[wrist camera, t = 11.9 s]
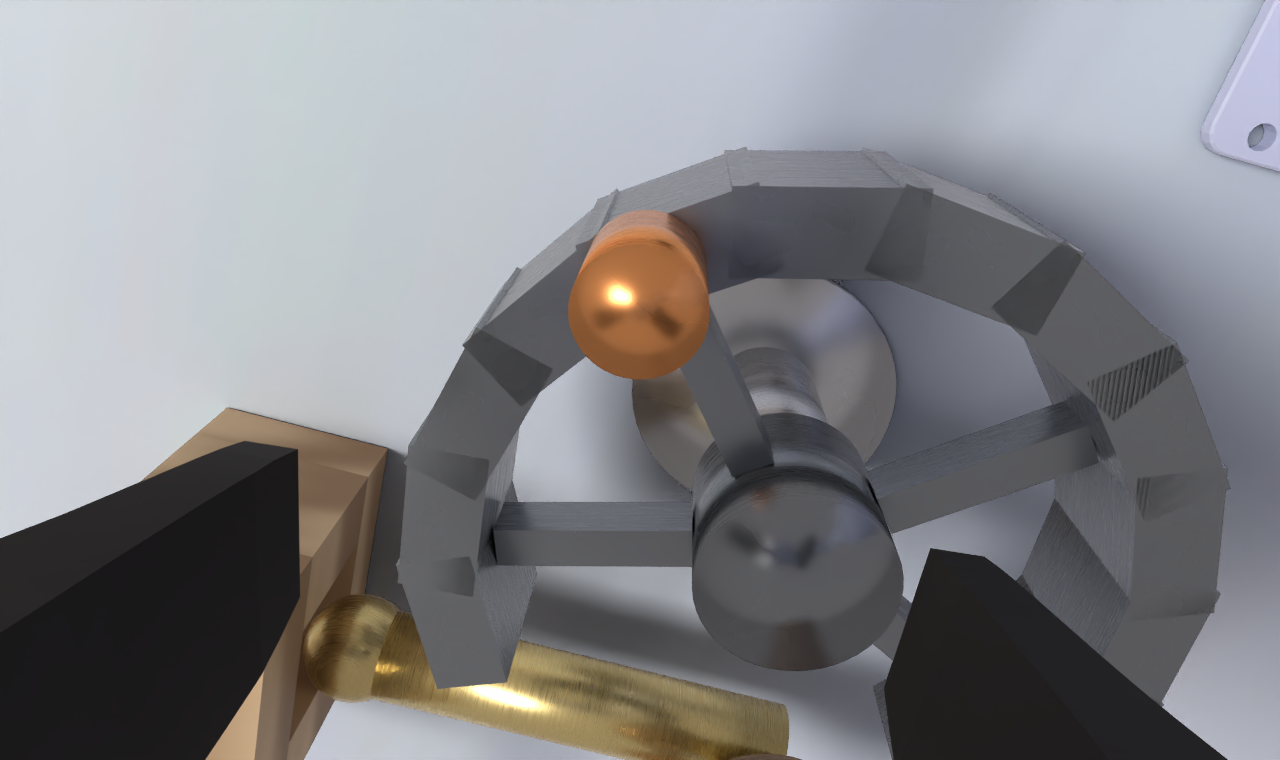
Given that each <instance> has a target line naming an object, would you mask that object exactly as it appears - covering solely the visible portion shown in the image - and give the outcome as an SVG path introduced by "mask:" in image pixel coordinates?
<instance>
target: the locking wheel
mask: <svg viewBox="0 0 1280 760" xmlns="http://www.w3.org/2000/svg"><path fill="white" fill-rule="evenodd" d="M1085 254H1086V253H1084V252H1083V251H1081V250H1080V249H1078V248H1076V247H1075V246H1073V245H1072V244H1070V243H1068V242H1067V241H1065V240H1064V239H1063V238H1061V237H1060V236H1058V235H1056V234H1055V233H1053V232H1052V231H1050V230H1048V229H1047V228H1045V227H1044V226H1042V225H1040V224H1039V223H1037V222H1036V221H1034V220H1032V219H1031V218H1029V217H1028V216H1026V215H1024V214H1023V213H1021V212H1020V211H1018V210H1016V209H1015V208H1013V207H1012V206H1010V205H1008V204H1007V203H1005V202H1004V201H1002V200H1000V199H999V198H997V197H996V196H994V195H992V194H991V193H990V194H989V195H988V196H985V195H983V194H980V193H977V192H975V191H972V190H970V189H967V188H965V187H962V186H960V185H957V184H955V183H952V182H949V181H947V180H944V179H942V178H939V177H937V176H934V175H932V174H929V173H927V172H924V171H921V170H919V169H916V168H914V167H911V166H909V165H906V164H904V163H901V162H899V161H897V160H895V159H894V158H893V157H891V156H890V155H889V154H887V153H886V152H873V151H871V150H868V149H865V148H863V150H862V152H858V151H758V150H747V148H746V147H744V148H741V149H738V150H725V153H724V155H721V156H718V157H715V158H713V159H710V160H707V161H704V162H701V163H698V164H696V165H693V166H690V167H687V168H684V169H682V170H679V171H676V172H673V173H670V174H668V175H665V176H662V177H659V178H656V179H653V180H651V181H648V182H645V183H642V184H639V185H637V186H634V187H631V188H628V189H625V190H622V191H620V192H619V191H618V190H617V189H616V190H615V191H613V192H612V193H611V194H610V195H608V196H606V197H603V198H600V199H598V200H597V202H596V204H595V206H594V208H593V209H592V210H591V211H590V212H589V213H587V214H586V215H585V216H584V217H583V218H581V219H580V220H579V221H578V222H577V223H575V224H574V225H573V226H572V227H571V228H569V229H568V230H567V231H566V232H565V233H564V234H562V235H561V236H560V237H559V238H558V239H556V240H555V241H554V242H553V243H552V244H550V245H549V246H548V247H547V248H546V249H544V250H543V251H542V252H541V253H540V254H539V255H537V256H536V257H535V258H534V259H533V260H531V261H530V262H529V263H528V264H527V265H525V266H524V267H523V268H522V269H519V268H518V267H517V268H516V270H515V271H514V272H513V274H512V275H511V277H510V278H509V280H508V281H506V282H505V284H504V285H503V287H502V288H501V289H500V291H499V292H498V294H497V295H496V297H495V298H494V300H493V301H492V303H491V304H490V305H489V307H488V308H487V310H486V311H485V313H484V314H483V316H482V317H481V319H480V320H479V321H478V323H477V324H476V326H475V327H474V329H473V330H472V332H471V333H470V335H469V336H468V337H467V339H466V340H465V342H464V343H463V347H464V348H465V349H464V351H463V353H462V355H461V356H460V358H459V360H458V362H457V364H456V366H455V368H454V370H453V371H452V373H451V375H450V377H449V379H448V381H447V383H446V385H445V386H444V388H443V390H442V392H441V394H440V396H439V398H438V399H437V401H436V403H435V405H434V407H433V408H432V410H431V411H430V413H429V415H428V416H427V418H426V419H425V421H424V422H423V424H422V425H421V427H420V428H419V430H418V431H417V433H416V434H415V436H414V437H413V439H412V441H411V442H410V444H409V446H408V456H407V457H406V459H405V461H404V463H403V464H405V465H407V471H406V484H405V497H404V509H403V522H402V534H401V547H400V558H399V560H398V562H397V564H396V567H397V570H398V583H399V584H402V585H403V588H404V591H405V594H406V597H407V600H408V603H409V606H410V609H411V612H412V615H413V618H414V621H415V624H416V627H417V630H418V633H419V636H420V639H421V642H422V645H423V648H424V651H425V654H426V657H427V660H428V663H429V666H430V669H431V672H432V675H433V678H434V681H435V683H436V686H437V689H444V688H455V687H465V686H475V685H485V684H496V683H506V682H507V680H508V676H509V673H510V669H511V666H512V662H513V658H514V655H515V651H516V648H517V644H518V640H519V637H520V633H521V630H522V626H523V622H524V619H525V615H526V612H527V608H528V604H529V601H530V597H531V594H532V590H533V586H534V583H535V579H536V576H537V572H536V568H535V566H656V567H692V592H693V600H694V604H695V608H696V611H697V613H698V616H699V618H700V620H701V622H702V624H703V625H704V627H705V628H706V630H707V631H708V632H709V634H710V635H711V636H712V637H713V638H714V639H715V640H716V641H717V642H718V643H719V644H720V645H721V646H722V647H723V648H725V649H726V650H728V651H729V652H731V653H732V654H734V655H735V656H737V657H739V658H741V659H743V660H745V661H748V662H750V663H753V664H755V665H759V666H762V667H766V668H771V669H777V670H786V671H805V670H813V669H820V668H824V667H828V666H832V665H835V664H838V663H840V662H843V661H846V660H848V659H850V658H852V657H854V656H856V655H858V654H859V653H861V652H862V651H864V650H865V649H867V648H868V647H869V646H870V645H872V644H874V645H875V646H876V647H877V648H879V649H880V650H881V651H882V652H883V653H885V654H886V655H887V656H888V657H889V658H891V659H892V660H893V659H894V656H895V653H896V650H897V647H898V644H899V641H900V638H901V635H902V632H903V629H904V626H905V623H906V620H907V617H908V614H909V611H910V608H911V605H912V603H910V602H909V601H908V600H907V599H906V598H905V597H903V596H902V594H903V581H904V577H903V570H902V565H901V562H900V559H899V555H898V553H897V550H896V547H895V545H894V542H893V539H892V537H891V534H892V533H895V532H898V531H901V530H904V529H907V528H910V527H913V526H916V525H919V524H922V523H925V522H928V521H931V520H934V519H936V518H939V517H942V516H945V515H948V514H951V513H954V512H957V511H960V510H963V509H966V508H969V507H972V506H975V505H978V504H981V503H983V502H986V501H989V500H992V499H995V498H998V497H1001V496H1004V495H1007V494H1010V493H1013V492H1016V491H1019V490H1022V489H1025V488H1028V487H1030V486H1033V485H1036V484H1039V483H1042V482H1045V481H1048V480H1051V479H1054V478H1055V499H1054V501H1053V504H1052V506H1051V508H1050V511H1049V513H1048V515H1047V518H1046V520H1045V522H1044V525H1043V527H1042V529H1041V532H1040V534H1039V536H1038V539H1037V541H1036V543H1035V546H1034V548H1033V550H1032V553H1031V555H1030V557H1029V560H1028V562H1027V564H1026V567H1025V569H1024V571H1023V574H1022V575H1021V576H1020V577H1019V578H1018V579H1017V580H1016V582H1017V583H1019V584H1020V585H1021V586H1022V587H1023V588H1024V589H1026V590H1027V591H1028V592H1029V593H1030V594H1031V595H1032V596H1034V597H1035V598H1036V599H1037V600H1038V601H1039V602H1041V603H1042V604H1043V605H1044V606H1045V607H1046V608H1047V609H1049V610H1050V611H1051V612H1052V613H1053V614H1054V615H1055V616H1056V617H1058V618H1059V619H1060V620H1061V621H1062V622H1063V623H1064V624H1066V625H1067V626H1068V627H1069V628H1070V629H1071V630H1072V631H1074V632H1075V633H1076V634H1077V635H1078V636H1079V637H1080V638H1081V639H1083V640H1084V641H1085V642H1086V643H1087V644H1088V645H1089V646H1091V647H1092V648H1093V649H1094V650H1095V651H1096V652H1097V653H1099V654H1100V655H1101V656H1102V657H1103V658H1104V659H1106V660H1107V661H1108V662H1109V663H1110V664H1111V665H1113V666H1114V667H1115V668H1116V669H1117V670H1118V671H1119V672H1121V673H1122V674H1123V675H1124V676H1125V677H1126V678H1128V679H1129V680H1130V681H1131V682H1132V683H1134V684H1135V685H1136V686H1137V687H1138V688H1139V689H1141V690H1142V691H1143V692H1144V693H1145V694H1147V695H1148V696H1149V697H1150V698H1151V699H1153V700H1154V701H1155V702H1156V703H1157V704H1159V705H1160V706H1161V707H1162V706H1163V705H1164V704H1163V703H1162V700H1163V698H1164V697H1165V695H1166V693H1167V691H1168V689H1169V687H1170V686H1171V684H1172V682H1173V680H1174V678H1175V676H1176V675H1177V673H1178V671H1179V669H1180V667H1181V665H1182V664H1183V662H1184V660H1185V658H1186V656H1187V654H1188V653H1189V651H1190V649H1191V647H1192V645H1193V643H1194V642H1195V640H1196V638H1197V636H1198V634H1199V633H1200V631H1201V629H1202V627H1203V625H1204V623H1205V622H1206V620H1207V618H1208V616H1209V614H1210V613H1214V607H1215V603H1216V601H1217V600H1218V598H1219V596H1220V593H1219V592H1218V591H1217V589H1216V586H1217V576H1218V565H1219V555H1220V545H1221V534H1222V524H1223V513H1224V503H1225V493H1226V490H1228V489H1231V488H1230V485H1229V483H1228V480H1227V472H1228V467H1226V466H1225V465H1224V464H1223V463H1222V462H1221V461H1220V458H1219V455H1218V453H1217V450H1216V447H1215V445H1214V442H1213V439H1212V437H1211V434H1210V431H1209V428H1208V426H1207V423H1206V420H1205V418H1204V415H1203V412H1202V409H1201V407H1200V404H1199V401H1198V399H1197V396H1196V393H1195V391H1194V388H1193V385H1192V382H1191V380H1190V377H1189V374H1188V372H1187V369H1186V366H1185V364H1186V363H1187V362H1188V360H1187V359H1186V358H1185V357H1184V356H1183V355H1182V354H1181V353H1180V350H1179V347H1178V345H1177V342H1175V341H1174V340H1172V339H1171V338H1170V337H1168V336H1167V335H1165V334H1164V333H1162V332H1161V331H1159V330H1158V329H1157V328H1155V327H1154V326H1153V325H1152V324H1150V323H1149V322H1148V321H1147V320H1146V319H1145V318H1144V317H1143V316H1142V315H1141V314H1140V313H1139V312H1138V311H1137V310H1136V309H1135V308H1134V307H1133V306H1132V305H1131V304H1130V303H1129V302H1128V301H1127V300H1126V299H1125V298H1124V297H1123V296H1122V295H1121V294H1120V293H1119V292H1118V291H1117V290H1116V289H1115V288H1114V287H1113V286H1112V285H1110V284H1109V283H1108V282H1107V281H1106V280H1105V279H1104V278H1103V277H1102V276H1101V275H1100V274H1099V273H1098V272H1097V271H1096V270H1095V269H1094V268H1093V267H1092V266H1091V265H1090V264H1089V263H1088V262H1087V261H1086V260H1085V259H1084V258H1083V257H1084V256H1085ZM757 278H771V279H828V280H884V281H893V282H896V283H898V284H901V285H904V286H906V287H909V288H911V289H914V290H917V291H919V292H922V293H925V294H927V295H930V296H933V297H935V298H938V299H940V300H943V301H946V302H948V303H951V304H954V305H956V306H959V307H962V308H964V309H967V310H969V311H972V312H975V313H977V314H980V315H983V316H985V317H988V318H991V319H993V320H996V321H998V322H1001V323H1004V324H1006V325H1009V326H1011V327H1012V328H1013V329H1014V330H1015V331H1016V332H1018V333H1019V334H1020V335H1021V336H1022V337H1023V338H1024V340H1025V342H1026V345H1027V347H1028V349H1029V352H1030V354H1031V356H1032V358H1033V361H1034V363H1035V365H1036V368H1037V370H1038V372H1039V374H1040V377H1041V379H1042V381H1043V384H1044V386H1045V388H1046V391H1047V393H1048V395H1049V397H1050V400H1051V402H1052V404H1053V405H1051V406H1048V407H1045V408H1043V409H1040V410H1037V411H1034V412H1032V413H1029V414H1026V415H1023V416H1020V417H1018V418H1015V419H1012V420H1009V421H1006V422H1004V423H1001V424H998V425H995V426H992V427H990V428H987V429H984V430H981V431H979V432H976V433H973V434H970V435H967V436H965V437H962V438H959V439H956V440H953V441H951V442H948V443H945V444H942V445H939V446H937V447H934V448H931V449H928V450H926V451H923V452H920V453H917V454H914V455H912V456H909V457H906V458H903V459H900V460H898V461H895V462H892V463H889V464H886V465H884V466H881V467H878V468H875V469H872V470H870V471H867V470H866V467H865V464H864V461H863V459H862V458H861V456H860V454H859V452H858V450H857V449H856V448H855V446H854V445H853V443H852V442H851V441H850V440H849V439H848V438H847V437H846V436H845V435H844V434H842V433H841V432H840V431H839V430H837V429H836V428H834V427H833V426H831V425H829V424H828V423H825V422H823V421H821V420H819V419H816V418H813V417H809V416H806V415H800V414H794V413H773V414H766V415H759V413H758V410H757V408H756V406H755V404H754V401H753V399H752V397H751V395H750V393H749V390H748V388H747V386H746V384H745V382H744V379H743V377H742V375H741V373H740V370H739V368H738V366H737V364H736V362H735V359H734V357H733V355H732V353H731V351H730V348H729V346H728V344H727V342H726V339H725V337H724V335H723V333H722V331H721V328H720V326H719V324H718V322H717V320H716V317H715V315H714V313H713V311H712V308H711V306H710V304H709V294H711V293H714V292H717V291H720V290H723V289H726V288H729V287H732V286H736V285H739V284H742V283H745V282H748V281H751V280H754V279H757ZM586 356H587V357H588V358H589V359H590V360H591V361H592V362H593V363H594V364H596V365H597V366H598V367H600V368H602V369H603V370H605V371H607V372H609V373H611V374H614V375H616V376H620V377H623V378H629V379H652V378H657V377H661V376H664V375H667V374H669V373H671V372H673V371H675V370H677V369H679V368H680V369H681V371H682V373H683V375H684V377H685V379H686V381H687V384H688V386H689V388H690V390H691V392H692V394H693V396H694V398H695V400H696V402H697V405H698V407H699V409H700V411H701V413H702V415H703V417H704V419H705V421H706V423H707V425H708V428H709V430H710V432H711V434H712V436H713V438H714V442H713V443H712V444H711V445H710V446H709V447H708V449H707V450H706V451H705V453H704V454H703V456H702V458H701V460H700V461H699V463H698V466H697V469H696V472H695V476H694V480H693V500H692V502H518V500H517V496H516V492H515V488H514V485H513V481H512V478H513V471H514V464H515V456H516V449H517V442H518V434H519V427H520V425H521V423H522V421H523V420H524V418H525V416H526V415H527V413H528V411H529V410H530V408H531V406H532V404H533V403H534V401H535V399H536V398H537V396H538V394H539V393H540V392H541V391H542V390H543V389H545V388H546V387H547V386H548V385H550V384H551V383H552V382H554V381H555V380H556V379H557V378H559V377H560V376H561V375H563V374H564V373H565V372H566V371H568V370H569V369H570V368H572V367H573V366H574V365H575V364H577V363H578V362H579V361H581V360H582V359H583V358H584V357H586ZM884 517H885V518H884ZM886 522H887V523H886ZM887 525H888V526H887ZM888 527H889V529H890V531H889V529H888ZM890 532H891V534H890ZM886 680H887V679H886ZM886 680H884V681H882V682H880V683H878V684H877V685H875V686H873V688H874V692H875V696H876V700H877V704H878V707H879V711H880V715H881V719H882V723H883V726H884V730H885V734H886V738H887V742H888V745H889V749H890V753H891V757H892V760H894V759H893V752H892V746H891V739H890V733H889V725H888V717H887V709H886V701H885V693H884V686H885V683H886Z"/></svg>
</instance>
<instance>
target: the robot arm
mask: <svg viewBox="0 0 1280 760" xmlns="http://www.w3.org/2000/svg"><path fill="white" fill-rule="evenodd" d="M1260 124H1262V125H1263V127H1264V135H1263V138H1262V140H1261V141H1260V142H1259V143H1258V144H1257V145H1255V146H1253V147H1251V148H1249V145H1248V142H1247V140H1248V136H1249V133H1250V132H1251V131H1252V130H1253V128H1254V127H1256V126H1258V125H1260ZM1201 137H1202V142H1203V144H1204V145H1205V147H1206V148H1207V149H1208V150H1210V151H1212V152H1214V153H1216V154H1219V155H1223V156H1226V157H1230V158H1233V159H1237V160H1241V161H1244V162H1248V163H1251V164H1255V165H1258V166H1262V167H1265V168H1269V169H1272V170H1276V171H1279V172H1280V0H1265V2H1264V4H1263V6H1262V8H1261V10H1260V12H1259V14H1258V16H1257V18H1256V20H1255V22H1254V24H1253V26H1252V28H1251V29H1250V31H1249V33H1248V35H1247V37H1246V39H1245V41H1244V43H1243V45H1242V47H1241V49H1240V51H1239V53H1238V55H1237V57H1236V59H1235V61H1234V63H1233V65H1232V67H1231V69H1230V71H1229V73H1228V75H1227V77H1226V79H1225V81H1224V83H1223V85H1222V87H1221V89H1220V91H1219V93H1218V95H1217V97H1216V99H1215V101H1214V103H1213V105H1212V107H1211V109H1210V111H1209V113H1208V115H1207V117H1206V119H1205V121H1204V123H1203V127H1202V130H1201ZM299 598H300V551H299V481H298V449H294V448H288V447H281V446H275V445H269V444H262V443H256V442H250V441H242V442H239V443H236V444H233V445H230V446H227V447H224V448H221V449H219V450H216V451H213V452H211V453H208V454H206V455H203V456H201V457H198V458H196V459H194V460H191V461H189V462H186V463H184V464H181V465H179V466H177V467H174V468H172V469H170V470H167V471H165V472H163V473H160V474H158V475H156V476H153V477H151V478H149V479H146V480H144V481H141V482H139V483H137V484H134V485H132V486H130V487H127V488H125V489H122V490H120V491H118V492H115V493H113V494H111V495H108V496H106V497H103V498H101V499H99V500H96V501H94V502H92V503H89V504H87V505H84V506H82V507H80V508H77V509H75V510H73V511H70V512H68V513H65V514H63V515H60V516H58V517H55V518H52V519H50V520H47V521H45V522H42V523H39V524H37V525H34V526H32V527H29V528H26V529H24V530H21V531H19V532H16V533H13V534H11V535H8V536H5V537H3V538H0V760H206V758H207V757H208V755H209V754H210V752H211V751H212V749H213V748H214V746H215V745H216V743H217V742H218V740H219V739H220V737H221V736H222V734H223V733H224V731H225V730H226V728H227V727H228V725H229V724H230V722H231V721H232V719H233V718H234V716H235V715H236V713H237V712H238V710H239V709H240V707H241V706H242V704H243V703H244V701H245V700H246V698H247V697H248V695H249V694H250V692H251V691H252V689H253V687H254V686H255V684H256V683H257V681H258V680H259V678H260V677H261V675H262V673H263V671H264V669H265V668H266V666H267V664H268V662H269V660H270V658H271V656H272V654H273V652H274V650H275V648H276V646H277V644H278V642H279V640H280V638H281V636H282V634H283V632H284V630H285V628H286V626H287V623H288V621H289V619H290V617H291V615H292V613H293V611H294V609H295V607H296V605H297V602H298V600H299ZM884 693H885V701H886V709H887V717H888V725H889V733H890V739H891V746H892V752H893V759H894V760H1227V759H1226V758H1225V757H1224V756H1222V755H1221V754H1220V753H1219V752H1217V751H1216V750H1215V749H1214V748H1212V747H1211V746H1210V745H1208V744H1207V743H1206V742H1205V741H1203V740H1202V739H1201V738H1200V737H1198V736H1197V735H1196V734H1195V733H1193V732H1192V731H1191V730H1189V729H1188V728H1187V727H1186V726H1184V725H1183V724H1182V723H1181V722H1179V721H1178V720H1177V719H1176V718H1174V717H1173V716H1172V715H1171V714H1170V713H1168V712H1167V711H1166V710H1165V709H1163V708H1162V707H1161V706H1160V705H1159V704H1157V703H1156V702H1155V701H1154V700H1153V699H1151V698H1150V697H1149V696H1148V695H1147V694H1145V693H1144V692H1143V691H1142V690H1141V689H1139V688H1138V687H1137V686H1136V685H1135V684H1134V683H1132V682H1131V681H1130V680H1129V679H1128V678H1126V677H1125V676H1124V675H1123V674H1122V673H1121V672H1119V671H1118V670H1117V669H1116V668H1115V667H1114V666H1113V665H1111V664H1110V663H1109V662H1108V661H1107V660H1106V659H1104V658H1103V657H1102V656H1101V655H1100V654H1099V653H1097V652H1096V651H1095V650H1094V649H1093V648H1092V647H1091V646H1089V645H1088V644H1087V643H1086V642H1085V641H1084V640H1083V639H1081V638H1080V637H1079V636H1078V635H1077V634H1076V633H1075V632H1074V631H1072V630H1071V629H1070V628H1069V627H1068V626H1067V625H1066V624H1064V623H1063V622H1062V621H1061V620H1060V619H1059V618H1058V617H1056V616H1055V615H1054V614H1053V613H1052V612H1051V611H1050V610H1049V609H1047V608H1046V607H1045V606H1044V605H1043V604H1042V603H1041V602H1039V601H1038V600H1037V599H1036V598H1035V597H1034V596H1032V595H1031V594H1030V593H1029V592H1028V591H1027V590H1026V589H1024V588H1023V587H1022V586H1021V585H1020V584H1019V583H1017V582H1016V581H1015V580H1014V579H1013V578H1011V577H1010V576H1009V575H1008V574H1006V573H1005V572H1004V571H1003V570H1001V569H1000V568H999V567H998V566H996V565H995V564H994V563H992V562H991V561H989V560H988V559H987V558H985V557H983V556H977V555H970V554H964V553H957V552H951V551H945V550H938V549H932V548H930V551H929V554H928V557H927V560H926V563H925V566H924V569H923V572H922V575H921V578H920V581H919V584H918V587H917V590H916V593H915V596H914V599H913V602H912V605H911V608H910V611H909V614H908V617H907V620H906V623H905V626H904V629H903V632H902V635H901V638H900V641H899V644H898V647H897V650H896V653H895V656H894V659H893V662H892V665H891V668H890V671H889V674H888V677H887V680H886V683H885V686H884Z"/></svg>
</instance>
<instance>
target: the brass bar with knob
mask: <svg viewBox="0 0 1280 760" xmlns="http://www.w3.org/2000/svg"><path fill="white" fill-rule="evenodd" d="M303 662H304V667H305V670H306V673H307V675H308V677H309V679H310V680H311V682H312V683H313V684H314V686H315V687H316V688H317V689H318V690H319V691H320V692H322V693H323V694H324V695H326V696H328V697H330V698H332V699H334V700H337V701H341V702H347V703H357V702H364V701H368V700H371V699H374V700H378V701H382V702H386V703H391V704H395V705H399V706H403V707H407V708H411V709H416V710H420V711H424V712H428V713H432V714H437V715H441V716H445V717H449V718H453V719H457V720H462V721H466V722H470V723H474V724H478V725H482V726H487V727H491V728H495V729H499V730H503V731H507V732H512V733H516V734H520V735H524V736H528V737H533V738H537V739H541V740H545V741H549V742H553V743H558V744H562V745H566V746H570V747H574V748H578V749H583V750H587V751H591V752H595V753H599V754H603V755H608V756H612V757H616V758H620V759H624V760H801V759H798V758H794V757H790V756H786V755H787V749H788V740H789V719H788V713H787V709H786V707H785V706H784V705H783V704H780V703H775V702H771V701H767V700H763V699H759V698H755V697H751V696H747V695H743V694H739V693H735V692H731V691H726V690H722V689H718V688H714V687H710V686H706V685H702V684H698V683H694V682H690V681H686V680H682V679H677V678H673V677H669V676H665V675H661V674H657V673H653V672H649V671H645V670H641V669H637V668H633V667H628V666H624V665H620V664H616V663H612V662H608V661H604V660H600V659H596V658H592V657H588V656H584V655H579V654H575V653H571V652H567V651H563V650H559V649H555V648H551V647H547V646H543V645H539V644H535V643H530V642H526V641H522V640H518V644H517V648H516V651H515V655H514V658H513V662H512V666H511V669H510V673H509V676H508V680H507V682H506V683H496V684H485V685H475V686H465V687H455V688H444V689H437V686H436V683H435V681H434V678H433V675H432V672H431V669H430V666H429V663H428V660H427V657H426V654H425V651H424V648H423V645H422V642H421V639H420V636H419V633H418V630H417V627H416V624H415V621H414V618H413V615H412V613H408V612H404V611H400V610H399V608H398V607H396V606H395V605H394V604H393V603H391V602H390V601H388V600H386V599H384V598H382V597H379V596H376V595H372V594H354V595H348V596H345V597H342V598H340V599H337V600H335V601H334V602H332V603H330V604H329V605H327V606H326V607H325V608H324V609H323V610H322V611H321V612H320V613H319V614H318V615H317V616H316V617H315V619H314V620H313V621H312V623H311V625H310V627H309V628H308V631H307V633H306V636H305V639H304V644H303Z"/></svg>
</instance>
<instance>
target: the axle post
mask: <svg viewBox="0 0 1280 760" xmlns="http://www.w3.org/2000/svg"><path fill="white" fill-rule="evenodd" d="M709 304H710V306H711V308H712V311H713V313H714V315H715V317H716V320H717V322H718V324H719V326H720V328H721V331H722V333H723V335H724V337H725V339H726V342H727V344H728V346H729V348H730V351H731V353H732V355H733V357H734V359H735V362H736V364H737V366H738V368H739V370H740V373H741V375H742V377H743V379H744V382H745V384H746V386H747V388H748V390H749V393H750V395H751V397H752V399H753V401H754V404H755V406H756V408H757V410H758V413H759V415H766V414H773V413H794V414H800V415H806V416H809V417H813V418H816V419H819V420H821V421H823V422H825V423H828V424H829V425H831V426H833V427H834V428H836V429H837V430H839V431H840V432H841V433H842V434H844V435H845V436H846V437H847V438H848V439H849V440H850V441H851V442H852V443H853V445H854V446H855V448H856V449H857V450H858V452H859V454H860V456H861V458H862V459H863V461H864V464H865V463H866V462H867V461H868V459H869V458H870V457H871V456H872V455H873V453H874V452H875V450H876V449H877V447H878V446H879V444H880V443H881V441H882V439H883V437H884V435H885V433H886V431H887V429H888V426H889V423H890V420H891V417H892V415H893V410H894V405H895V400H896V383H897V382H896V372H895V365H894V361H893V357H892V353H891V350H890V347H889V345H888V342H887V340H886V338H885V335H884V334H883V332H882V330H881V329H880V327H879V325H878V324H877V322H876V320H875V319H874V317H873V316H872V315H871V313H870V312H869V311H868V310H867V309H866V307H865V306H864V305H863V304H862V303H861V302H860V301H859V300H858V299H857V298H855V297H854V296H853V295H852V294H851V293H850V292H848V291H847V290H845V289H844V288H842V287H841V286H840V285H838V284H837V283H835V282H833V281H831V280H828V279H771V278H757V279H754V280H751V281H748V282H745V283H742V284H739V285H736V286H732V287H729V288H726V289H723V290H720V291H717V292H714V293H711V294H709ZM632 398H633V409H634V414H635V418H636V422H637V426H638V428H639V431H640V433H641V436H642V439H643V440H644V442H645V444H646V446H647V448H648V449H649V451H650V453H651V454H652V455H653V457H654V458H655V459H656V461H657V462H658V463H659V465H660V466H661V467H662V468H663V469H664V470H665V471H666V472H667V473H668V474H669V475H670V476H672V477H673V478H674V479H675V480H677V481H678V482H679V483H680V484H682V485H683V486H685V487H686V488H688V489H690V490H691V491H693V480H694V476H695V472H696V469H697V466H698V463H699V461H700V460H701V458H702V456H703V454H704V453H705V451H706V450H707V449H708V447H709V446H710V445H711V444H712V443H713V442H714V438H713V436H712V434H711V432H710V430H709V428H708V425H707V423H706V421H705V419H704V417H703V415H702V413H701V411H700V409H699V407H698V405H697V402H696V400H695V398H694V396H693V394H692V392H691V390H690V388H689V386H688V384H687V381H686V379H685V377H684V375H683V373H682V371H681V369H680V368H679V369H677V370H675V371H673V372H671V373H669V374H667V375H664V376H661V377H657V378H652V379H633V388H632Z"/></svg>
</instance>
